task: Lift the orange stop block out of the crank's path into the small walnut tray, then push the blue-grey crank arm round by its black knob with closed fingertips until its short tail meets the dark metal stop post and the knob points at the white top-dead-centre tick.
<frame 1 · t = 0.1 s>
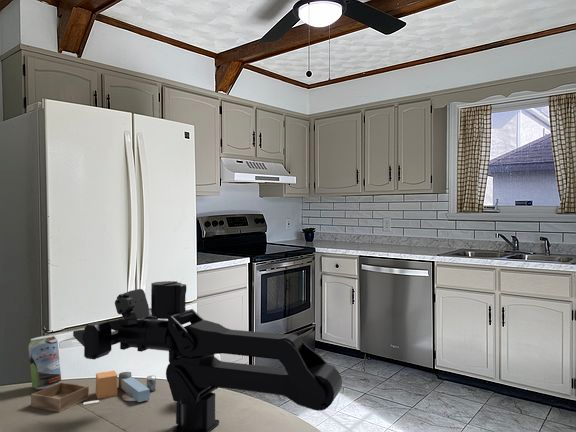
hand: (91, 328, 92), 17 cm above the table, tool horizontal, fingers open, 9 cm apart
printed food package: (44, 388, 104), on the table
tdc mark: (91, 403, 94), on the table
stop block: (106, 394, 100), on the table
crank: (133, 385, 100), point 2 cm above the table, hinge at -75.0°
lightbulb: (206, 397, 98), on the table
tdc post: (151, 390, 102), on the table
tray: (60, 402, 95), on the table
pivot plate: (136, 396, 98), on the table
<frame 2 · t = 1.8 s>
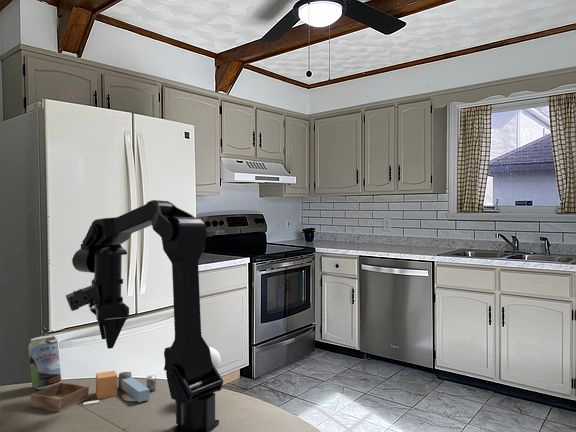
hand: (107, 343, 100), 11 cm above the table, tool pointing down, fingers open, 9 cm apart
nothing on the table moved.
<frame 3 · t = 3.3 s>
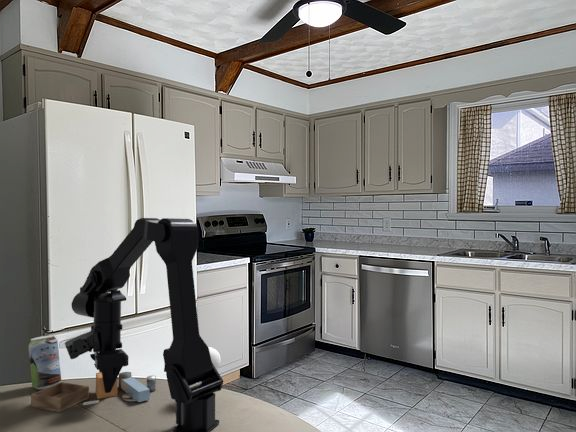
hand: (106, 389, 100), 1 cm above the table, tool pointing down, fingers closed on stop block, 4 cm apart
stop block: (106, 394, 100), on the table, touching gripper
everything else where it was.
when the fingers open (3 cm above the table, at t = 6.7 s): stop block drops 2 cm, resting on tray.
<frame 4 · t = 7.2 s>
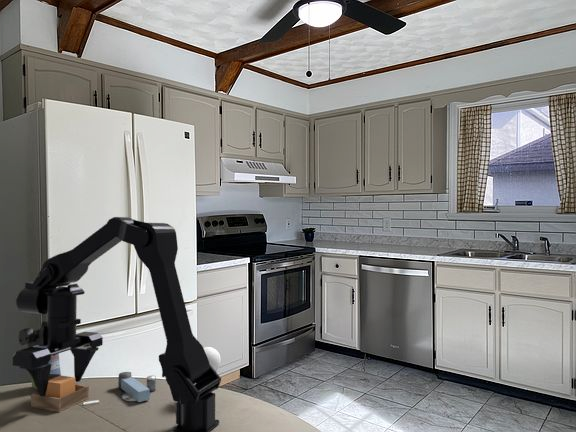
hand: (60, 388, 95), 3 cm above the table, tool pointing down, fingers open, 9 cm apart
stop block: (60, 400, 95), resting on tray
everything else where it was.
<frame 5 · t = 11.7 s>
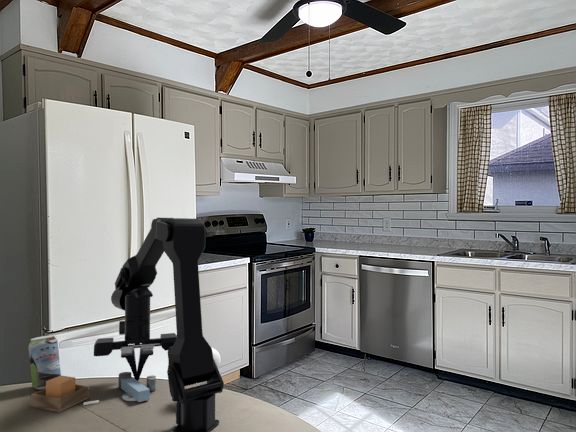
hand: (136, 380, 105), 1 cm above the table, tool pointing down, fingers closed
crank: (133, 385, 100), point 2 cm above the table, hinge at -75.0°, touching gripper
everything else where it was.
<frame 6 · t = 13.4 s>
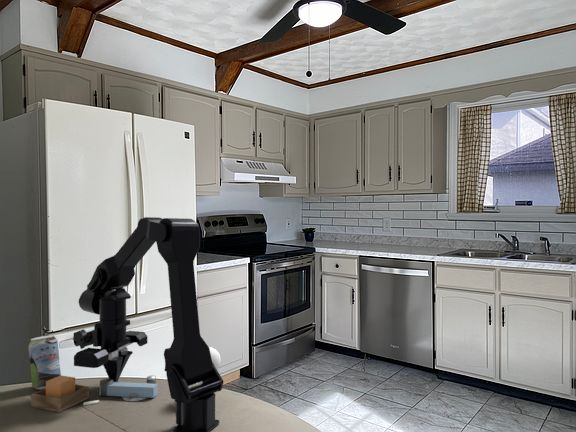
hand: (113, 385, 101), 1 cm above the table, tool pointing down, fingers closed
crank: (128, 387, 99), point 2 cm above the table, hinge at -31.0°, touching gripper
everything else where it was.
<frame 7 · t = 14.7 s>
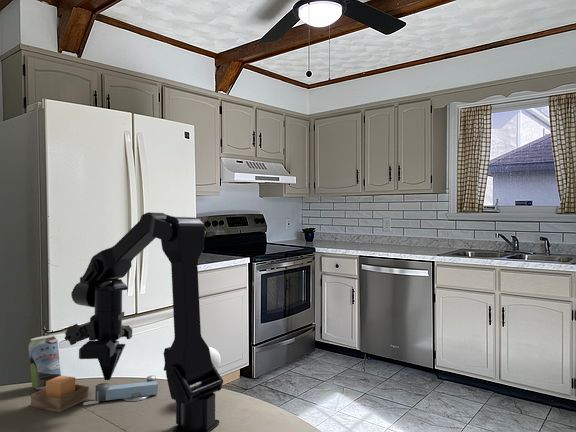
hand: (107, 379, 99), 4 cm above the table, tool pointing down, fingers closed
crank: (127, 389, 98), point 2 cm above the table, hinge at -5.5°
everything else where it was.
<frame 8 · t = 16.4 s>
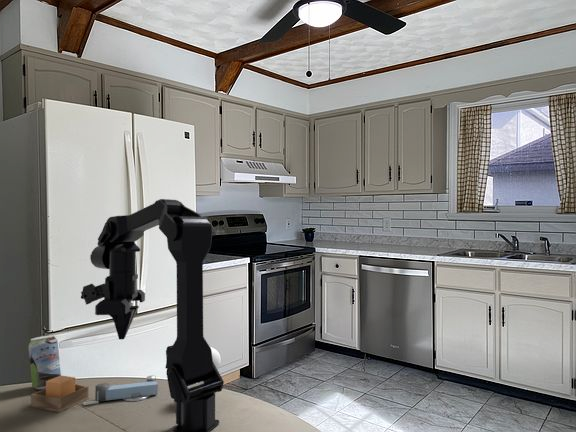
hand: (121, 339, 101), 12 cm above the table, tool pointing down, fingers closed
nothing on the table moved.
at the end: stop block 0.0 cm off-centre on the tray, point 0.4 cm above the tray's base; crank at -6° (first picture: -75°) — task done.
